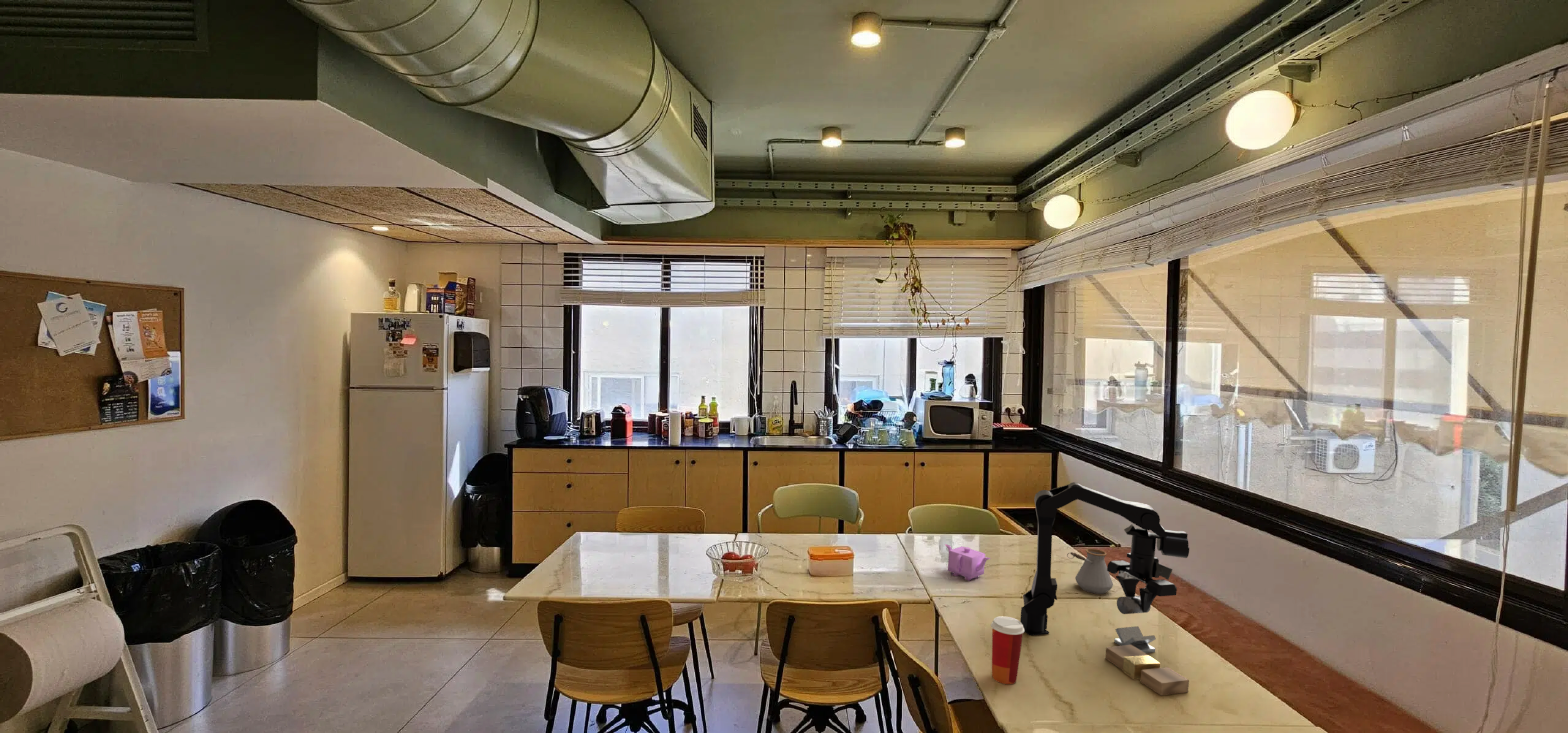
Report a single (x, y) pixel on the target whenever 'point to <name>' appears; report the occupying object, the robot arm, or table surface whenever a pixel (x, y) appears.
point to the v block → (1134, 639)
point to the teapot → (966, 562)
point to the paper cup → (1006, 648)
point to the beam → (1150, 672)
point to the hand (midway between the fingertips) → (1137, 608)
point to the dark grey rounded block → (1130, 605)
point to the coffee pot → (1093, 572)
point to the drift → (1138, 665)
